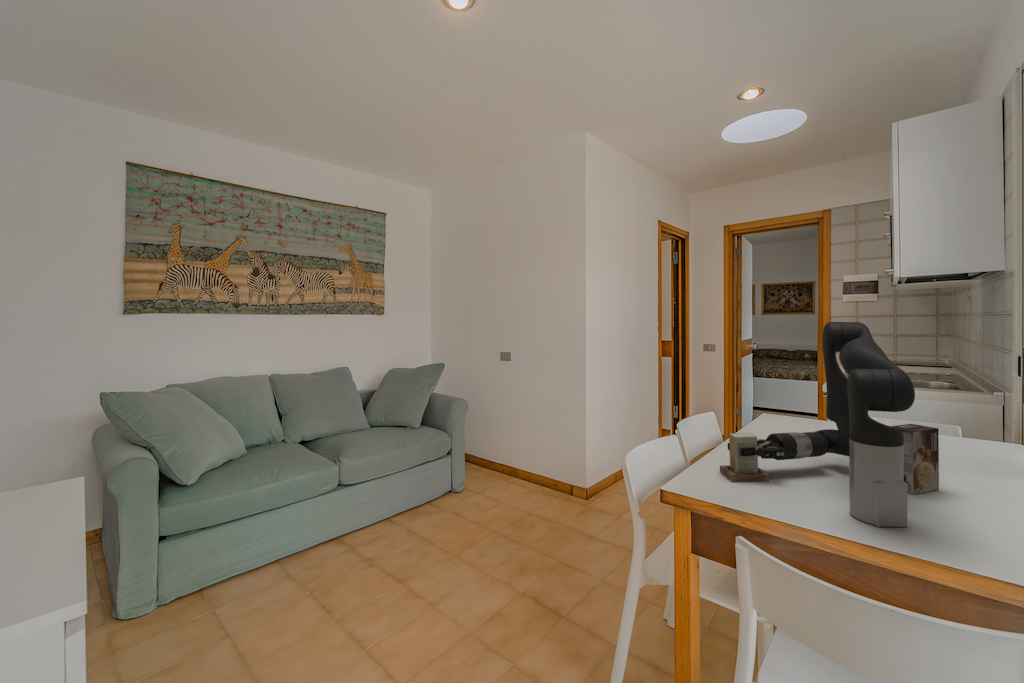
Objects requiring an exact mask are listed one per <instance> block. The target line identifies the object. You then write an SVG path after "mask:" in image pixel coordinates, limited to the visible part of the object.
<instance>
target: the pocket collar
mask: <svg viewBox="0 0 1024 683" xmlns="http://www.w3.org/2000/svg"><path fill="white" fill-rule="evenodd" d="M720 472H721V473H722V474H721V473H720ZM719 473H720V474H721V475H723V476H724V477H725V476H726V477H727V478H726V477H725V478H726V479H728V480H729V481H730V480H731V482H732V483H760V482H759V481H769V482H770V474H769V473H767V472H766V471H764V470H763V469H761V468H760V467H758V473H733V472H732V471H731V470H730V464H729V465H719ZM756 481H758V482H756Z"/></svg>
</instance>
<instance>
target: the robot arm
mask: <svg viewBox="0 0 1024 683" xmlns="http://www.w3.org/2000/svg"><path fill="white" fill-rule="evenodd" d="M821 338H822V340H821V344H822V354H823V367H824V374H825V375H824V377H825V382H826V383H825V384H826V408H825V409H826V410H825V411H826V414H825V415H826V418H827V419H828V420H829V421H831V422H833V423H834V424H835V425H836V428H837V429H831V428H830V429H829V428H828V429H827V428H826V429H820V430H817V431H809V432H796V431H795V432H791V431H790V432H778V433H770V434H769V435H768V436H767V438H766V439H763V438H759V439H758V438H757V447H754V448H753V447H750V448H741V449H740V455H741V456H743V457H744V456H755V457H758V458H759V457H760V459H762V460H763V459H766V460H769V459H771V460H772V459H774V460H776V461H784V460H785V461H787V460H798V459H804V458H815V457H822V456H824V455H826V454H827V453H829V454H836V455H840V456H845V457H849V461H848V462H849V464H848V465H849V469H848V470H849V472H848V473H849V474H848V476H849V479H848V480H849V481H848V482H849V488H848V489H849V492H848V493H849V496H848V497H849V514H850V515H851V516H852V517H853V518H855V519H857V520H859V521H862V522H864V523H867V524H871V525H873V526H876V527H878V528H879V527H880V528H885V527H887V528H888V527H889V528H896V527H897V528H898V527H901V528H902V527H903V528H906V527H908V493H907V483H906V482H904V435H903V433H902V432H901V431H900V430H898V429H896V428H894V427H891V426H892V425H891V426H890V425H887V424H884V423H881V422H879V421H877V420H875V419H874V418H872V417H871V416H869V411H871V412H886V413H887V412H888V413H889V412H890V413H897V412H899V413H900V412H904V411H907V410H909V409H910V408H911V407H912V406H913V405H914V403H915V401H916V400H915V399H916V392H915V386H914V383H913V381H912V379H911V378H910V376H909V375H908V374H907V372H905V370H903V369H902V368H901V367H899V366H898V365H896V364H895V363H894V362H892V361H891V360H890V359H889V357H888V356H887V355H886V353H885V352H884V351H883V349H882V348H881V347H880V346H879V345H878V344H877V343H876V341H875V339H874V338H873V336H872V334H871V331H870V328H869V327H868V326H867V325H866V324H865V323H863V322H860V321H828V322H826V323H825V325H824V327H823V329H822V337H821ZM837 353H838V354H839V355H838V358H839V363H840V364H841V367H842V368H843V370H844V371H845V373H846V374H848V376H846V375H845V373H844V372H843V371H842V369H841V368H840V366H839V363H838V359H837ZM727 450H728V451H730V445H729V442H728V443H727Z"/></svg>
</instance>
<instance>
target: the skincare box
mask: <svg viewBox="0 0 1024 683" xmlns="http://www.w3.org/2000/svg"><path fill="white" fill-rule="evenodd" d="M728 439H729V442H728V443H729V445H730V450H729V465H730V470H731V471H732V472H733V473H758V468H759V462H758V461H759V459H758V458H759V457H755V456H744V457H743V456H741V455H740V449H741V448H750V447H753V448H754V447H757V440H758V437H757V436H756V435H755V434H753V433H751V432H743V433H742V432H740V433H739V432H738V433H729V434H728Z"/></svg>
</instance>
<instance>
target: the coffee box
mask: <svg viewBox="0 0 1024 683" xmlns="http://www.w3.org/2000/svg"><path fill="white" fill-rule="evenodd" d="M891 427H894V428H896V429H898V430H900V431H901V432H902V433H903V435H904V482H906V483H907V492H909V493H908V494H910V493H911V494H910V495H913V494H915V495H919V493H920V494H924V492H925V493H929V491H930V492H934V490H936V491H939V490H940V482H939V481H940V472H939V471H940V469H939V468H940V466H939V464H940V463H939V462H940V459H939V458H940V457H939V455H940V454H939V453H940V452H939V449H940V448H939V428H938V427H933V426H925V425H922V424H915V423H908V424H907V423H905V424H898V425H891Z"/></svg>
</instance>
